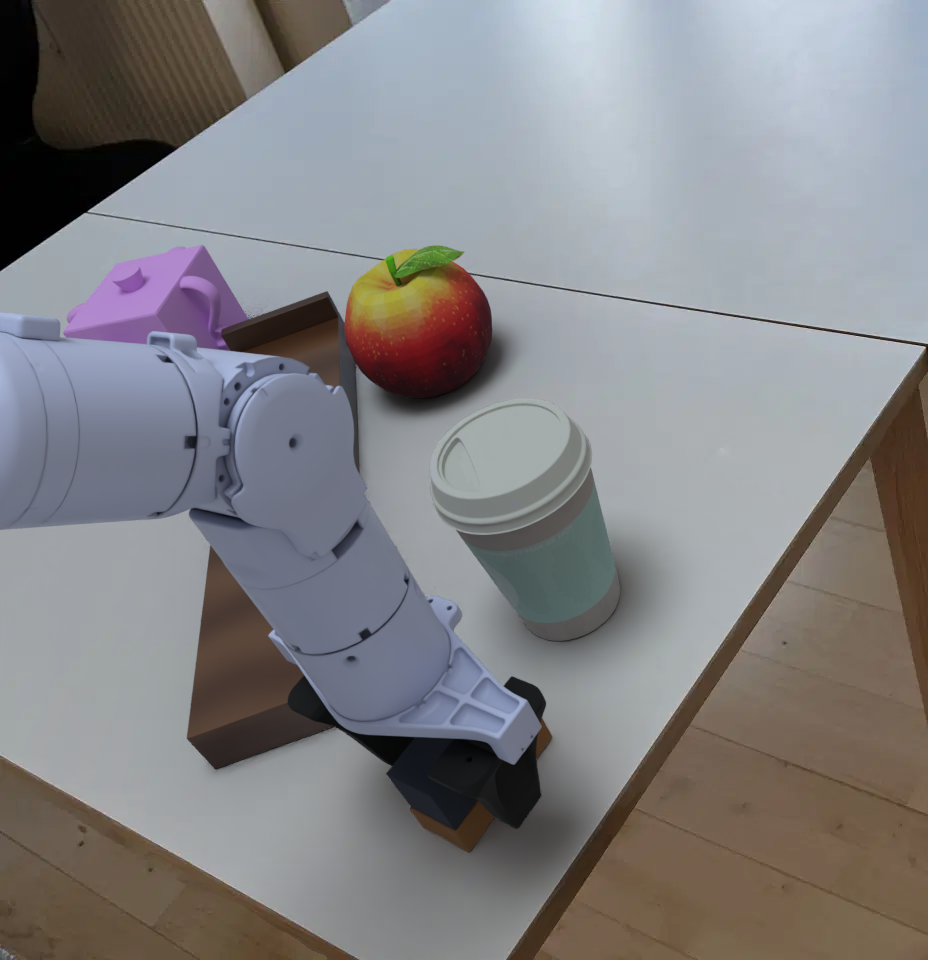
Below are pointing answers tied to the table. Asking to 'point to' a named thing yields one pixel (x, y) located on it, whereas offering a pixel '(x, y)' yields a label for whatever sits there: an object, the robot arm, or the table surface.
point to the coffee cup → (530, 513)
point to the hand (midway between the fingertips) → (465, 780)
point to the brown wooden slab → (226, 607)
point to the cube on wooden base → (443, 792)
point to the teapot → (159, 301)
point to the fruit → (418, 323)
